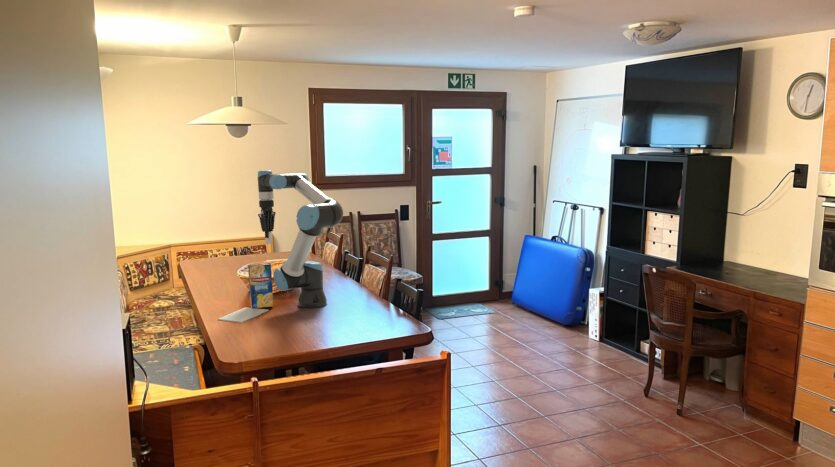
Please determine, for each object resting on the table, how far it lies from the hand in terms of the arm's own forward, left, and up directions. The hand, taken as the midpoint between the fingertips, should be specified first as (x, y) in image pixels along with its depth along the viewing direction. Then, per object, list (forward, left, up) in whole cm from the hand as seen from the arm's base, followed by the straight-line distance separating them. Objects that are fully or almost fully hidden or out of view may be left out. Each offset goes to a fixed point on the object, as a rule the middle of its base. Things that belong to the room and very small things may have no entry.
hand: (268, 243), depth 314 cm
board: (-2, +26, -32) cm, 42 cm away
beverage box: (-2, +11, -32) cm, 34 cm away
